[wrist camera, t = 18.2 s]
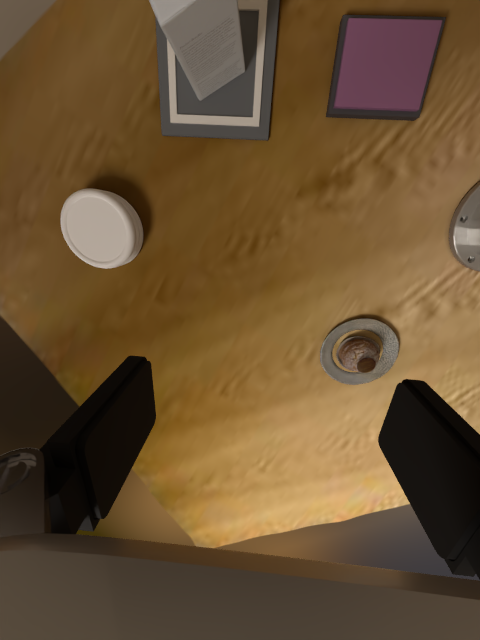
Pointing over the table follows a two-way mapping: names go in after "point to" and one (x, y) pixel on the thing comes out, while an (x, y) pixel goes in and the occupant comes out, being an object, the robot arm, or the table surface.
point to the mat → (234, 97)
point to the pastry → (360, 352)
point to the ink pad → (383, 66)
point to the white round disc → (101, 228)
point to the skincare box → (203, 40)
